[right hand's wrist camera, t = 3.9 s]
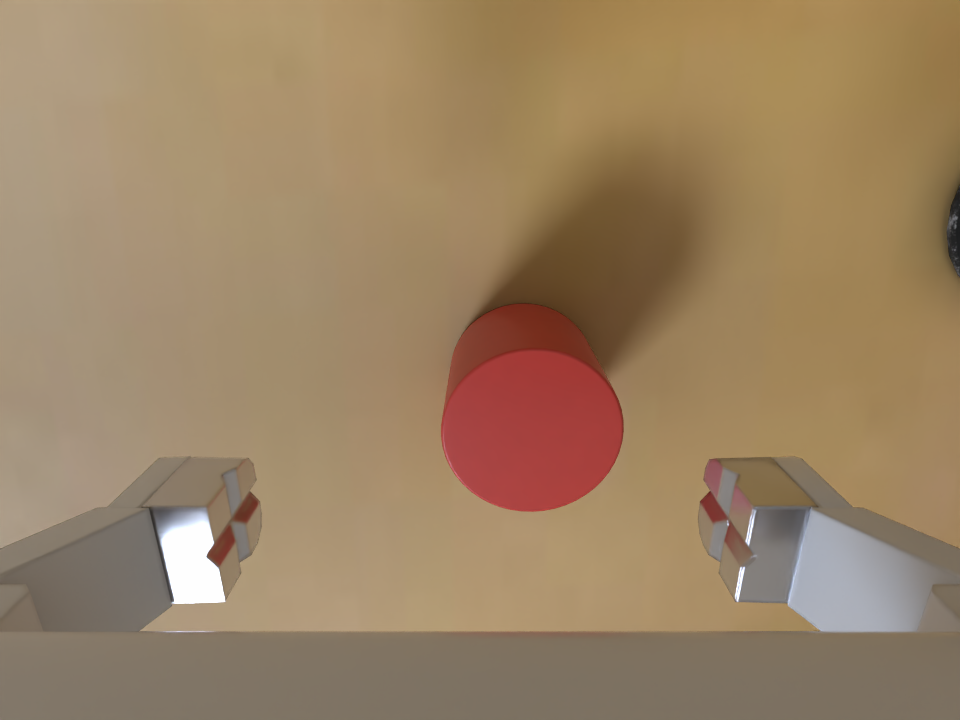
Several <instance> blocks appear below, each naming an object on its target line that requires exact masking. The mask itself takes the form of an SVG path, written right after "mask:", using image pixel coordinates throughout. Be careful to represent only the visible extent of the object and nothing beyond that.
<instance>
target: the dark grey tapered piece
mask: <svg viewBox="0 0 960 720" xmlns="http://www.w3.org/2000/svg"><path fill="white" fill-rule="evenodd" d="M947 239H948V249H949V256H950V258H951V261H952V263H953V265H954V267H955V270H956V272H957V274H958V276H959V277H960V187H959V189H958V191H957V194H956V196H955V198H954V201H953V203H952V205H951V210H950V216H949V222H948V227H947Z"/></svg>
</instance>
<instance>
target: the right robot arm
mask: <svg viewBox="0 0 960 720" xmlns="http://www.w3.org/2000/svg"><path fill="white" fill-rule="evenodd" d="M255 482H256V475H255V470H254V464H253V463H252V462H251V461H250V459H249V458H219V457H190V456H188V457H163V458H159V459H157V460H156V461H155V462H154V463H153V464H152V465H151V466H150V467H149V468H148V469H147V470H146V471H145V472H144V473H143V474H142V475H141V476H140V477H138V478H137V479H136V480H135V481H134V482H133V483H132V484H131V485H130V486H129V487H128V488H127V489H126V490H125V491H124V492H123V493H122V494H121V495H119V496H118V497H117V498H116V499H115V500H114V501H113V502H112V503H111V504H110V505H109V506H108V507H107V508H95V509H93V510H91V511H88V512H86V513H83V514H81V515H79V516H76V517H74V518H72V519H69V520H67V521H65V522H62V523H60V524H57V525H55V526H53V527H50V528H48V529H46V530H43V531H41V532H39V533H36V534H34V535H31V536H29V537H27V538H24V539H22V540H20V541H17V542H15V543H12V544H10V545H8V546H5V547H3V548H1V549H0V720H960V549H959V548H957V547H954V546H952V545H950V544H947V543H945V542H943V541H940V540H938V539H935V538H933V537H931V536H928V535H926V534H924V533H921V532H919V531H917V530H914V529H912V528H910V527H907V526H905V525H902V524H900V523H898V522H895V521H893V520H891V519H888V518H886V517H884V516H881V515H879V514H876V513H874V512H872V511H869V510H867V509H865V508H853V507H852V506H851V505H850V504H849V503H848V502H847V501H846V500H845V499H844V498H843V497H842V496H841V495H840V494H838V493H837V492H836V491H835V490H834V489H833V488H832V487H831V486H830V485H829V484H828V483H827V482H826V481H825V480H824V479H823V478H822V477H821V476H820V475H818V474H817V473H816V472H815V471H814V470H813V469H812V468H811V467H810V466H809V465H808V464H807V463H806V462H805V461H804V460H803V459H801V458H798V457H795V456H790V457H755V458H716V459H709V461H708V463H707V466H706V468H705V474H704V482H705V483H706V485H707V486H708V488H709V489H710V492H709V493H708V494H707V495H706V496H705V497H704V498H703V499H702V500H701V501H700V506H699V514H698V523H699V533H700V537H701V540H702V543H703V545H704V547H705V549H706V551H707V553H708V555H710V556H711V557H713V558H714V559H716V560H718V561H719V562H720V568H719V574H720V576H721V578H722V580H723V581H724V583H725V585H726V587H727V588H728V590H729V592H730V593H731V595H732V597H733V599H734V600H735V602H760V603H788V606H789V607H790V608H792V609H793V610H794V611H796V612H797V613H798V614H800V615H801V616H802V617H803V618H805V619H806V620H807V621H809V622H810V623H811V624H813V625H814V626H815V627H817V628H818V629H819V630H820V631H573V632H479V631H477V632H476V631H140V630H141V629H142V628H144V627H145V626H146V625H148V624H149V623H150V622H152V621H153V620H154V619H155V618H157V617H158V616H159V615H161V614H162V613H163V612H165V611H166V610H167V609H169V608H170V607H171V606H172V603H199V602H225V601H226V599H227V597H228V595H229V594H230V592H231V590H232V588H233V587H234V585H235V583H236V581H237V580H238V578H239V576H240V574H241V568H240V562H241V561H242V560H244V559H246V558H247V557H249V556H250V555H252V553H253V551H254V549H255V547H256V545H257V543H258V540H259V536H260V531H261V527H262V512H261V505H260V501H259V500H258V499H257V498H256V497H255V496H254V495H253V494H252V493H251V492H250V489H251V488H252V486H253V485H254V483H255Z"/></svg>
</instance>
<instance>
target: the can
mask: <svg viewBox="0 0 960 720" xmlns="http://www.w3.org/2000/svg"><path fill="white" fill-rule="evenodd" d="M623 432H624V428H623V415H622V409H621V406H620V403H619V400H618V398H617V396H616V394H615V392H614V390H613V388H612V386H611V384H610V382H609V380H608V379H607V377H606V375H605V373H604V371H603V370H602V368H601V366H600V364H599V362H598V360H597V359H596V357H595V355H594V353H593V351H592V349H591V348H590V346H589V344H588V342H587V340H586V338H585V337H584V335H583V334H582V332H581V331H580V329H579V328H578V327H577V326H576V325H575V324H574V323H573V322H572V321H571V320H569V319H568V318H567V317H566V316H564V315H562V314H561V313H559V312H557V311H555V310H553V309H550V308H548V307H544V306H541V305H535V304H511V305H507V306H502V307H499V308H497V309H494V310H492V311H490V312H488V313H486V314H484V315H483V316H481V317H480V318H478V319H477V320H476V321H474V322H473V323H472V324H471V325H470V326H469V327H468V328H467V330H466V331H465V332H464V333H463V335H462V336H461V338H460V339H459V341H458V343H457V345H456V347H455V350H454V353H453V356H452V362H451V368H450V374H449V380H448V386H447V392H446V399H445V405H444V411H443V417H442V424H441V439H442V446H443V450H444V453H445V457H446V459H447V461H448V463H449V466H450V467H451V469H452V470H453V472H454V474H455V475H456V476H457V478H458V479H459V480H460V481H461V482H462V484H463V485H464V486H466V487H467V488H468V489H469V490H470V491H471V492H472V493H474V494H475V495H477V496H478V497H480V498H481V499H483V500H485V501H487V502H489V503H491V504H494V505H496V506H499V507H502V508H506V509H510V510H517V511H532V512H533V511H544V510H550V509H555V508H558V507H561V506H564V505H567V504H569V503H572V502H574V501H576V500H578V499H579V498H581V497H583V496H585V495H586V494H587V493H589V492H590V491H591V490H593V489H594V488H595V487H596V486H597V485H598V484H599V483H600V482H601V481H602V480H603V479H604V478H605V476H606V475H607V474H608V473H609V471H610V470H611V468H612V466H613V465H614V463H615V461H616V458H617V456H618V454H619V451H620V448H621V444H622V439H623Z"/></svg>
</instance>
